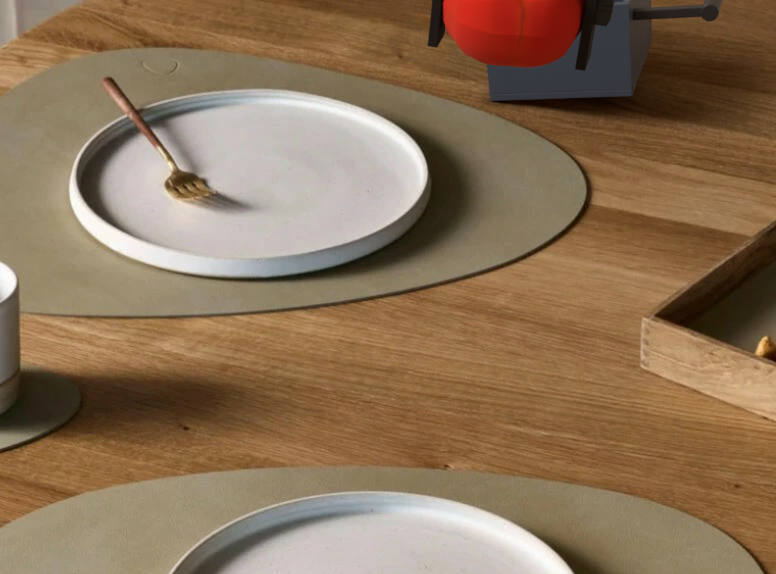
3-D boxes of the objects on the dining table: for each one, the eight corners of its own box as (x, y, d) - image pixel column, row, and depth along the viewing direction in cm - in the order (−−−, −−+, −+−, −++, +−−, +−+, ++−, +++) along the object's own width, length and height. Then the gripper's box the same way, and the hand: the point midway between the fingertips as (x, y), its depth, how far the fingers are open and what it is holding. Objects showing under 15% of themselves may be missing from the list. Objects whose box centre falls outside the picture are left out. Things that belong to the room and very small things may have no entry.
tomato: (592, 41, 120) (608, -54, 115) (555, 95, 112) (571, -4, 107) (463, 16, 123) (474, -78, 118) (419, 67, 115) (428, -31, 110)
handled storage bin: (731, 38, 153) (731, -52, 148) (716, 93, 143) (716, -2, 138) (518, 48, 161) (511, -38, 156) (490, 101, 151) (481, 12, 146)
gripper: (371, -265, 103) (350, 47, 117) (720, -225, 98) (654, 95, 112) (398, -289, 109) (375, 11, 123) (729, -253, 104) (665, 55, 118)
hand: (508, 51), depth 118 cm, fingers closed on tomato, 11 cm apart
